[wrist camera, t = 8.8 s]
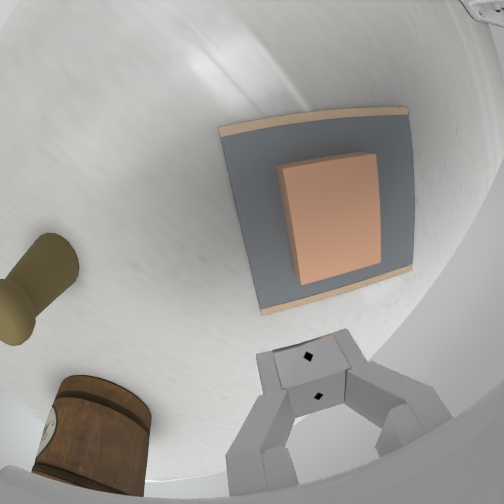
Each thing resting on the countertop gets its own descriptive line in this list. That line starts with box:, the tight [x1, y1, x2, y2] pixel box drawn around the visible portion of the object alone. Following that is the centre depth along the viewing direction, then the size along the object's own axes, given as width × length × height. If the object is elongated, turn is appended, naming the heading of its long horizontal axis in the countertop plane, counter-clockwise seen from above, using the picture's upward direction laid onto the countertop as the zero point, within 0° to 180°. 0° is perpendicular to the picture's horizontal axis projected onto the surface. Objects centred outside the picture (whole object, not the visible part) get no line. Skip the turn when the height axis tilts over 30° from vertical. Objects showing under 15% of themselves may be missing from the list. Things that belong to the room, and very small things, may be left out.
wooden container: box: [31, 376, 151, 497], centre depth 22 cm, size 15×15×22 cm
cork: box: [0, 233, 79, 346], centre depth 17 cm, size 6×6×11 cm
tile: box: [276, 152, 381, 285], centre depth 23 cm, size 2×10×8 cm
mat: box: [218, 107, 415, 316], centre depth 24 cm, size 18×18×1 cm
